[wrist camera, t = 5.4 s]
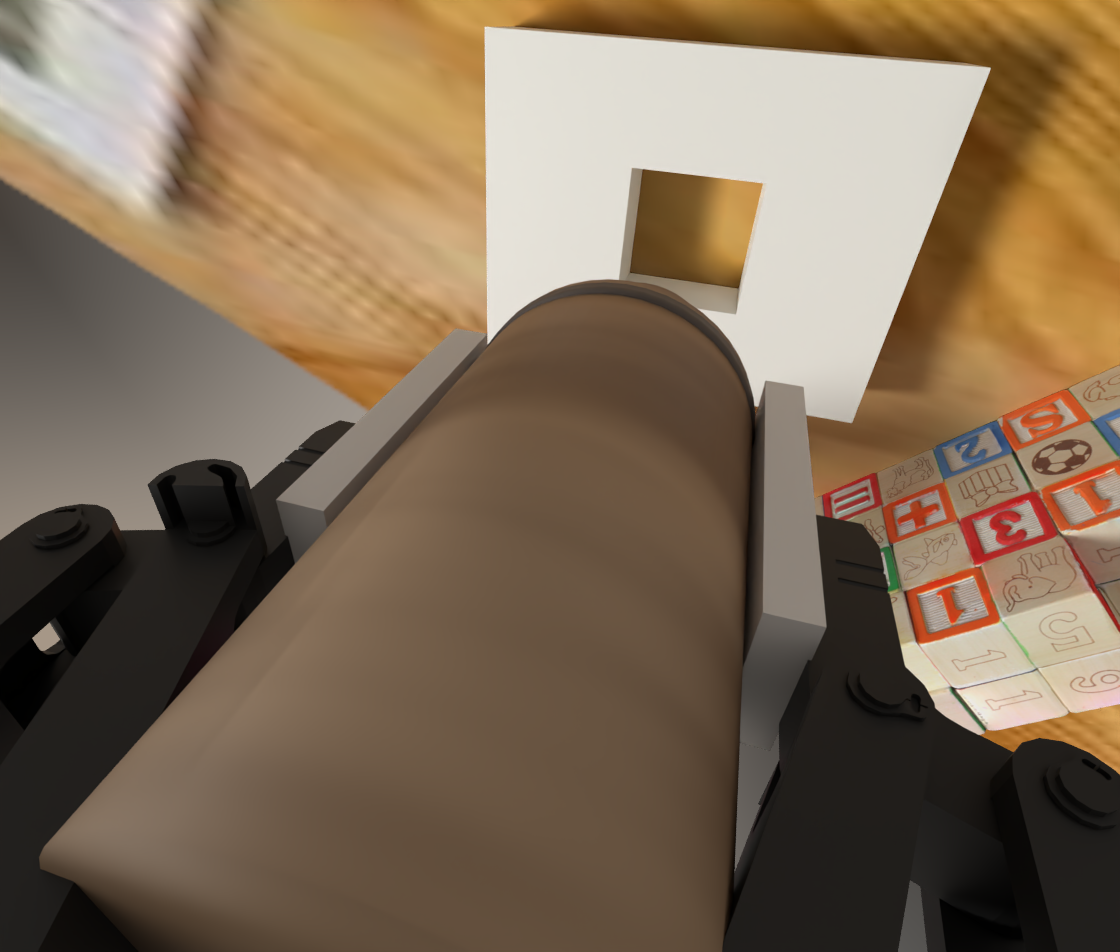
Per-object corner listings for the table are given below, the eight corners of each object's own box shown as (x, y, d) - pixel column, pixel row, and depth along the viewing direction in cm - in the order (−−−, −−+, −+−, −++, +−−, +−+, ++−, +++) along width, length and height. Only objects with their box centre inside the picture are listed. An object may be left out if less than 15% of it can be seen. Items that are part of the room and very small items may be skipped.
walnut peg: (526, 221, 15) (-119, 729, 4) (786, 256, 14) (851, 1068, 3) (521, 435, 19) (167, 1014, 8) (728, 476, 18) (662, 1216, 7)
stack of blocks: (1233, 308, 26) (1507, 474, 17) (1281, 418, 28) (1553, 624, 18) (772, 515, 38) (774, 683, 28) (826, 583, 40) (847, 763, 30)
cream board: (513, 26, 27) (484, 26, 24) (965, 62, 24) (991, 67, 21) (509, 333, 35) (487, 359, 33) (844, 389, 32) (851, 423, 30)
